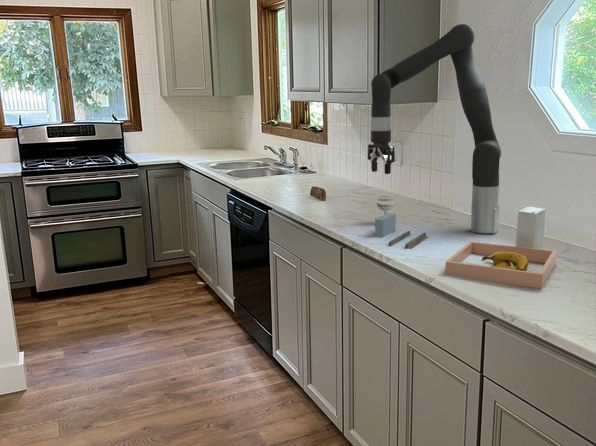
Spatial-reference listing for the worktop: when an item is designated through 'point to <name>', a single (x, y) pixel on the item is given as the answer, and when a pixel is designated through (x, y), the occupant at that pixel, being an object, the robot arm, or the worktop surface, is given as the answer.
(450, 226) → the worktop surface
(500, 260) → the banana
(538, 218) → the skincare box
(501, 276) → the fruit tray rim
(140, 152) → the worktop surface
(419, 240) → the door track
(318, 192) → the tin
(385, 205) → the wineglass
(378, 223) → the door panel
